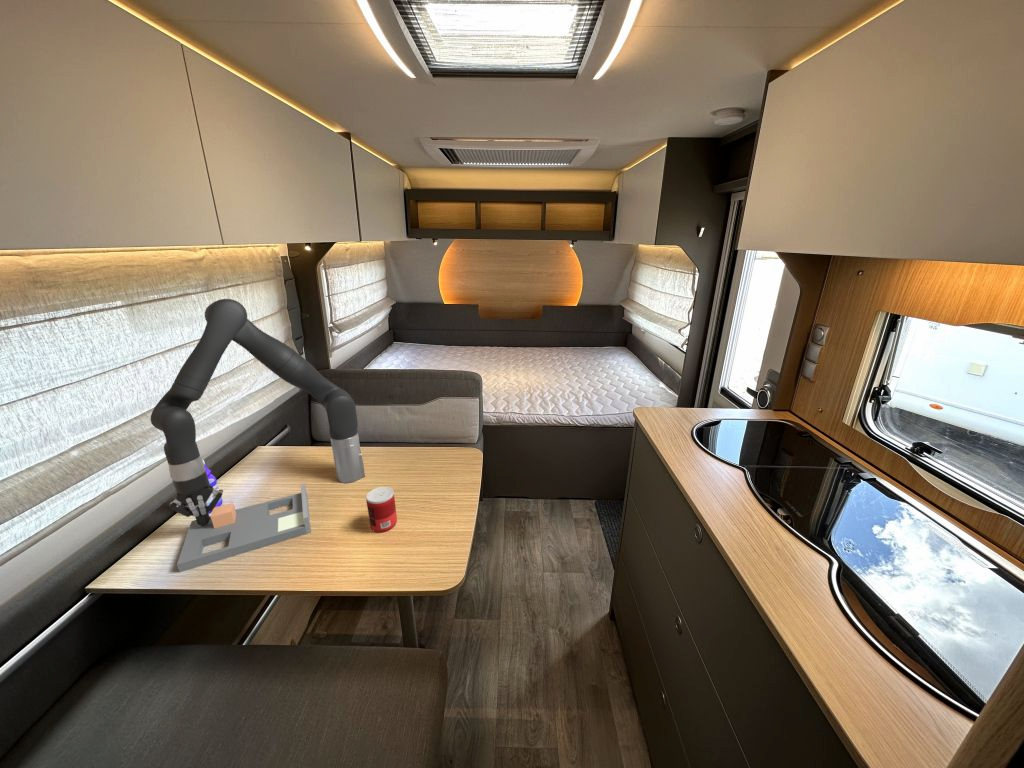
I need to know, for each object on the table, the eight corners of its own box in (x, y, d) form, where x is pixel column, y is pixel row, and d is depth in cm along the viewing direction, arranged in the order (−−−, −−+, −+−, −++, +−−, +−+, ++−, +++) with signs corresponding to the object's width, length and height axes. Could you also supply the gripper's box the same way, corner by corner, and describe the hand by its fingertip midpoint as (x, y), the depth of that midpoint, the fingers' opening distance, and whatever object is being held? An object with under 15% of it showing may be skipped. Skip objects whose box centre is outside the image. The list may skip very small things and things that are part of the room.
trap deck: (307, 497, 135) (304, 483, 133) (311, 532, 118) (307, 517, 116) (193, 527, 121) (188, 512, 119) (179, 572, 104) (173, 555, 102)
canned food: (402, 519, 124) (398, 488, 120) (386, 535, 116) (382, 504, 113) (381, 514, 126) (377, 484, 122) (365, 530, 119) (360, 499, 115)
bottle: (207, 517, 125) (192, 468, 120) (192, 514, 127) (177, 467, 121) (227, 503, 132) (214, 457, 127) (213, 501, 133) (199, 455, 128)
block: (236, 513, 123) (233, 502, 122) (234, 522, 119) (231, 511, 117) (216, 518, 121) (213, 507, 119) (214, 528, 116) (210, 516, 115)
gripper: (219, 461, 118) (232, 510, 123) (162, 473, 112) (179, 524, 117) (215, 473, 111) (230, 524, 117) (155, 486, 106) (173, 539, 111)
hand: (204, 524), depth 117 cm, fingers closed
